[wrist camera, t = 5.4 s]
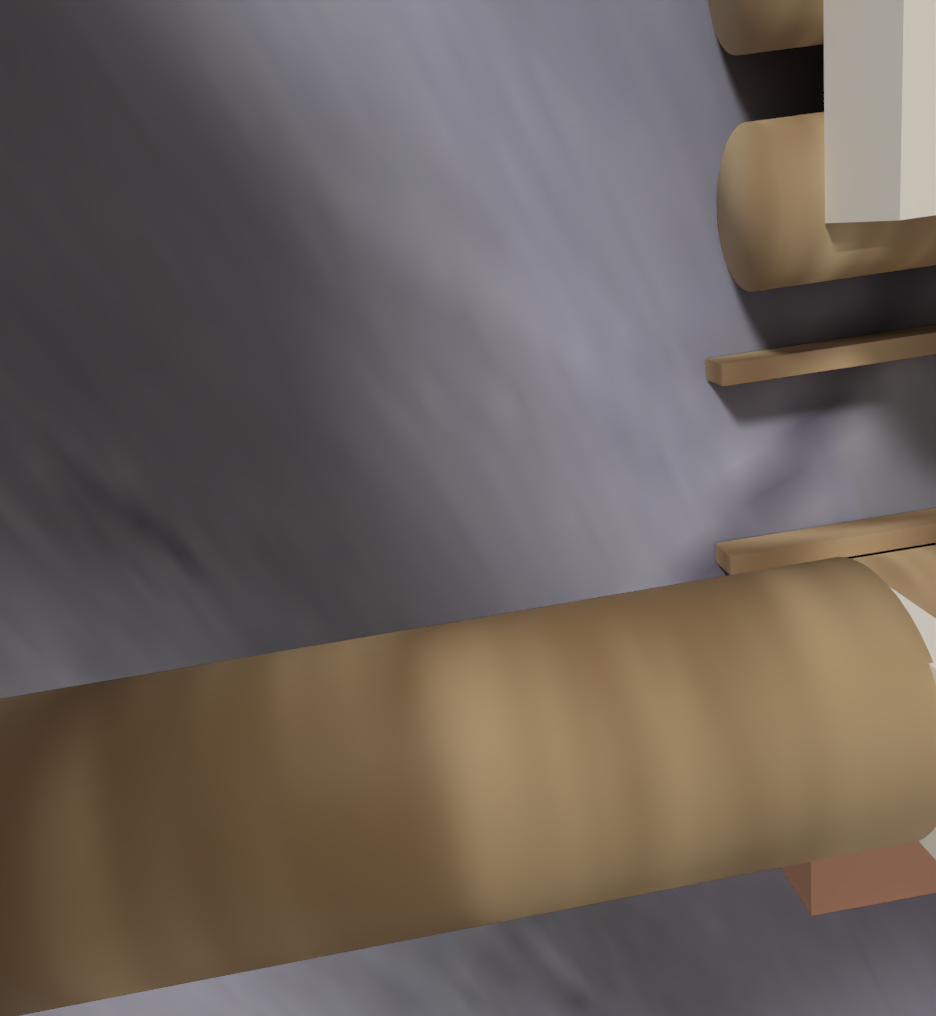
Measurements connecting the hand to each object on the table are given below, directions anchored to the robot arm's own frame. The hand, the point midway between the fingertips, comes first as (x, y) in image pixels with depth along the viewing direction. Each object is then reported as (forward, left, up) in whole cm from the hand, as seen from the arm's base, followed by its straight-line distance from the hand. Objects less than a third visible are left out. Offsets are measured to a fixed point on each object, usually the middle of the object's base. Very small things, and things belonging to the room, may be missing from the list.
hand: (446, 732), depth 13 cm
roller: (0, 0, -1) cm, 1 cm away
